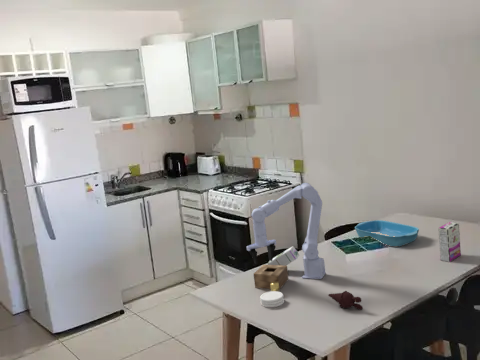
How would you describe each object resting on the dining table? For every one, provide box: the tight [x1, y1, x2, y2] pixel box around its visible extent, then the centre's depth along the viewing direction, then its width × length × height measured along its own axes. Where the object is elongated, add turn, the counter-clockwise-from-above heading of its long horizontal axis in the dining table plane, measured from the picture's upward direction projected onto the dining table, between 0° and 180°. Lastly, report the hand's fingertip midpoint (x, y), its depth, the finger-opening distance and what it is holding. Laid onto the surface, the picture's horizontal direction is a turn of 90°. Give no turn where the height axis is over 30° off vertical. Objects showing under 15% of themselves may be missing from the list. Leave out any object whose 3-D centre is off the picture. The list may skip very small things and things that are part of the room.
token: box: [270, 282, 281, 292], centre depth 228 cm, size 4×4×5 cm
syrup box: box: [267, 245, 300, 266], centre depth 253 cm, size 6×6×14 cm
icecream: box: [328, 290, 363, 311], centre depth 206 cm, size 7×7×15 cm
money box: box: [253, 264, 289, 290], centre depth 240 cm, size 12×12×7 cm
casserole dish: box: [354, 219, 420, 247], centre depth 284 cm, size 37×22×7 cm, turn 34°
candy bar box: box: [438, 221, 462, 263], centre depth 245 cm, size 11×5×16 cm, turn 131°
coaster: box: [259, 290, 285, 308], centre depth 219 cm, size 10×10×4 cm
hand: (263, 262), depth 242 cm, fingers open, 7 cm apart
